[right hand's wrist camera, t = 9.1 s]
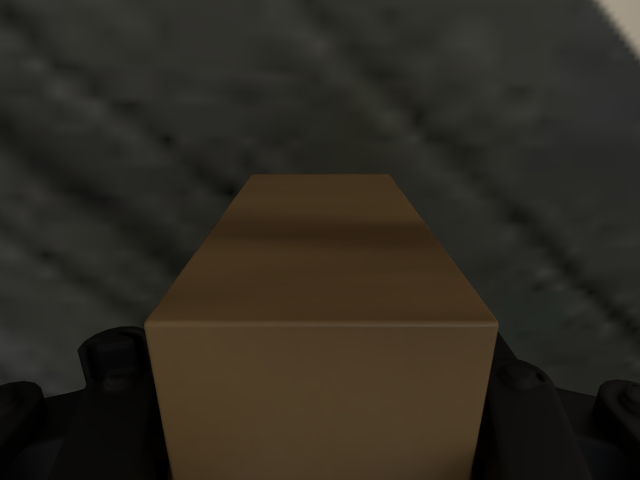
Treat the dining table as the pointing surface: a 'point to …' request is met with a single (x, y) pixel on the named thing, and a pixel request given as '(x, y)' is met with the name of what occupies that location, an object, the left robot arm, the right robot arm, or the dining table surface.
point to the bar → (321, 341)
